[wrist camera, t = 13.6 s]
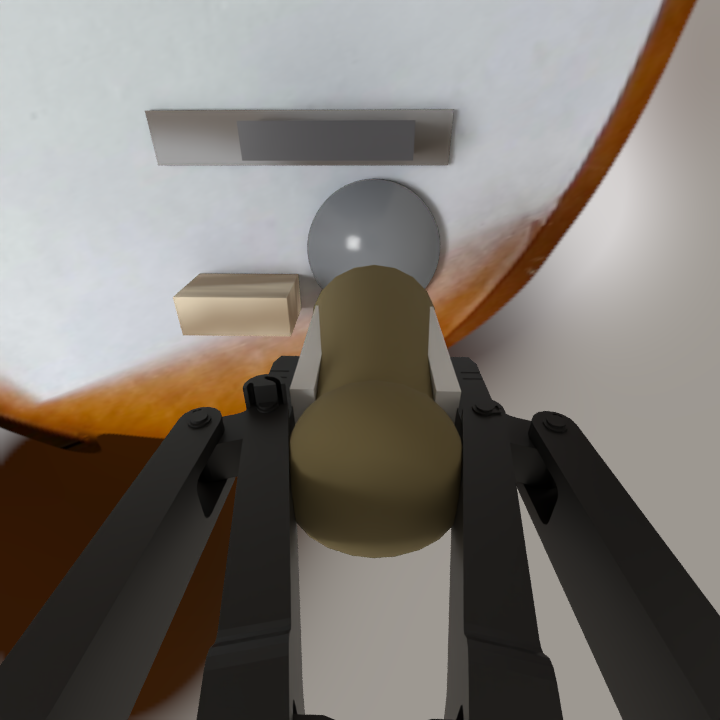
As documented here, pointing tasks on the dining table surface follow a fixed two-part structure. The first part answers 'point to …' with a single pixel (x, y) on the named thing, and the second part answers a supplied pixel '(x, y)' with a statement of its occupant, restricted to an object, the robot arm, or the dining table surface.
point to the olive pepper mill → (375, 424)
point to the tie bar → (327, 140)
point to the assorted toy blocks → (222, 147)
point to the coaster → (373, 232)
